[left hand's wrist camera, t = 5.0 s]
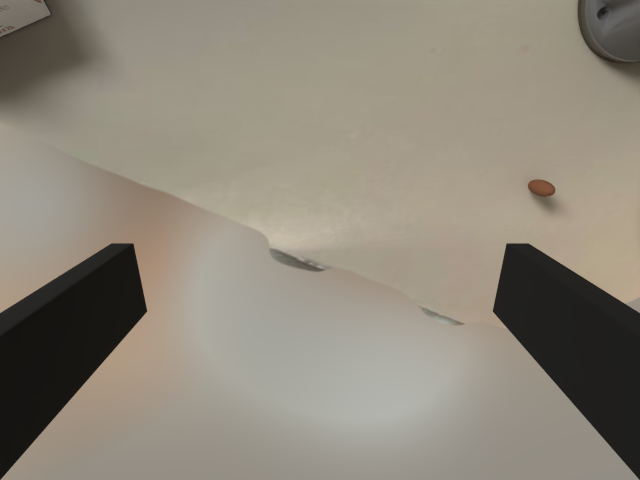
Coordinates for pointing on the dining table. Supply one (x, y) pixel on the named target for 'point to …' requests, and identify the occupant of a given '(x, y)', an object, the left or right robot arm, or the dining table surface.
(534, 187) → the brown ellipsoid
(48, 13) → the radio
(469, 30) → the dining table surface
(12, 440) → the left robot arm
